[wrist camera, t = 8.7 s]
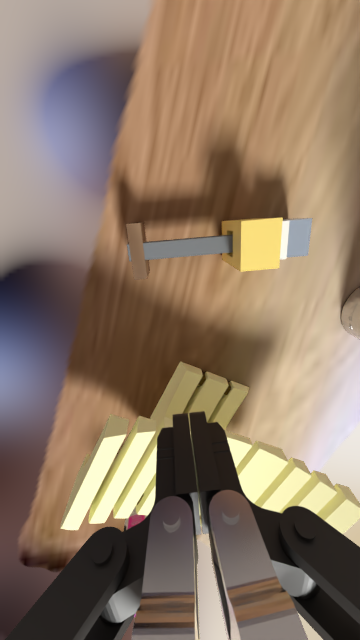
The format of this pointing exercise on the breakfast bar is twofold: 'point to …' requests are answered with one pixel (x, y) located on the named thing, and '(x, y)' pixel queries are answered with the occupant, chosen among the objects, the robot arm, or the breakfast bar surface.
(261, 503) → the slatted curved stool
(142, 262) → the tan flat end block
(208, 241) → the grey slider rail
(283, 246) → the pale beige end plate
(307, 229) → the block
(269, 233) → the yellow sliding collar
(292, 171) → the breakfast bar surface
